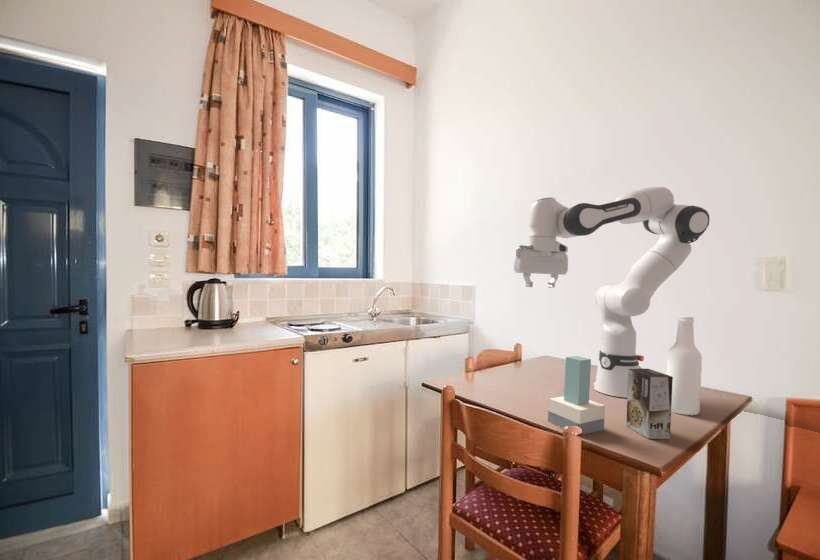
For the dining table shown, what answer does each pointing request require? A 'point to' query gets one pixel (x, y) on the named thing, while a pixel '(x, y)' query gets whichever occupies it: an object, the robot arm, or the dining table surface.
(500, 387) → the dining table surface
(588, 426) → the slab bottom
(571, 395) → the teal post
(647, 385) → the coffee box
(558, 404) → the slab top
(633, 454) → the dining table surface
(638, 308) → the robot arm
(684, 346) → the alcohol
